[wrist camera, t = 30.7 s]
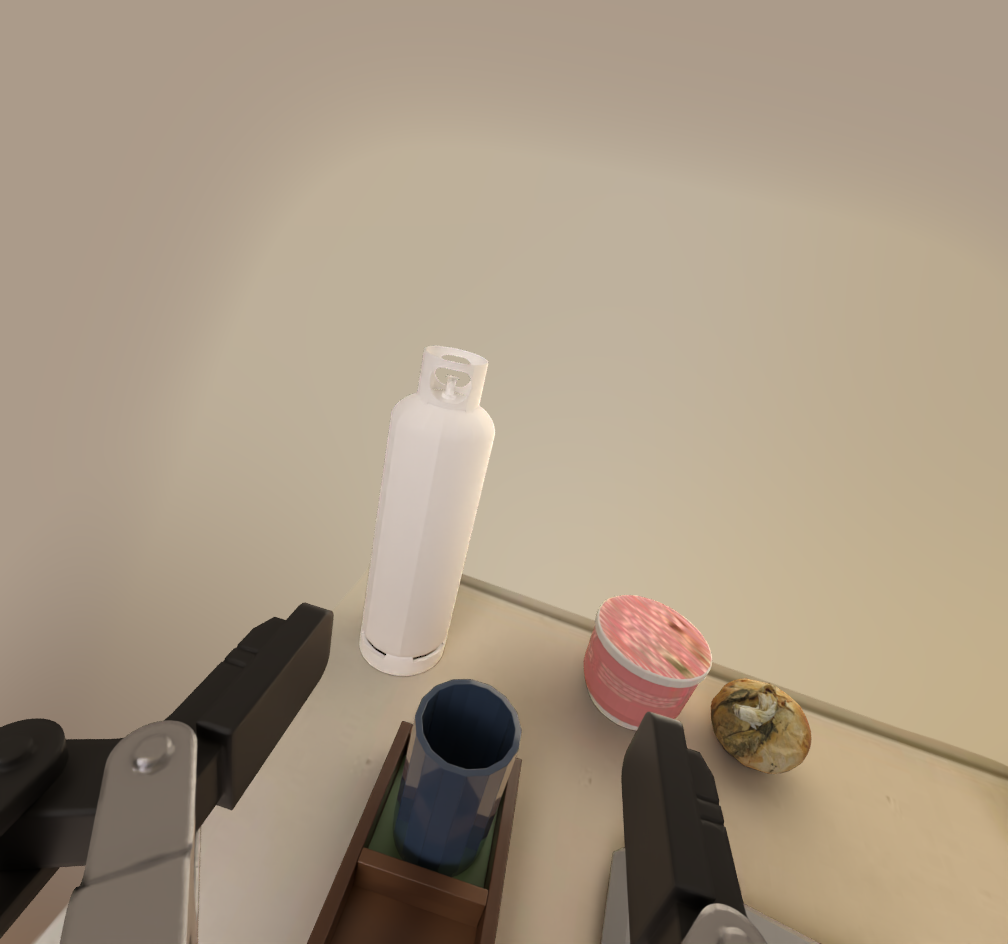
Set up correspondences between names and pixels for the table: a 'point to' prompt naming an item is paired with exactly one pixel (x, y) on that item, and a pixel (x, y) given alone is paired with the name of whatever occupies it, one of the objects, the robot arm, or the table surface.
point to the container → (643, 660)
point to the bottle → (425, 515)
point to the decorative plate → (616, 919)
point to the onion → (760, 726)
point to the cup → (454, 775)
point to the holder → (413, 877)
